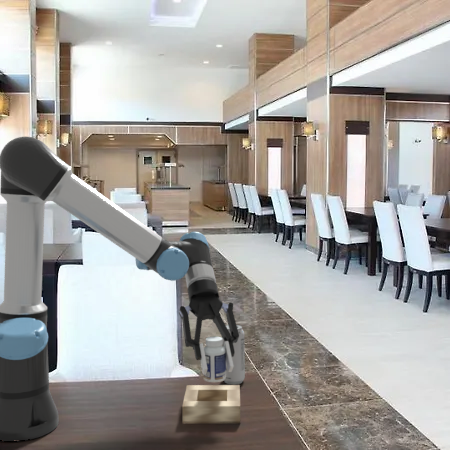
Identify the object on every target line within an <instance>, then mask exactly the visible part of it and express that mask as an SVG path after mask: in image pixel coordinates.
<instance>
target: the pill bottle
mask: <svg viewBox="0 0 450 450" xmlns="http://www.w3.org/2000/svg"><path fill="white" fill-rule="evenodd" d="M222 344H223V339H222V336H216V335H215V336H208V337H206V338H205V346H204V352H205V357H206V363H207V368H208V369H207V373H206V374H204V375H203V374H202V376H203V377H202V378H203V380H204V381H205V382H207V383H208V382H209V383H220V382H223V381H224V380H225V379H226V350H225V348H224V347H223V346H222Z"/></svg>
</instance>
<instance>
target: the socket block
mask: <svg viewBox="0 0 450 450" xmlns="http://www.w3.org/2000/svg"><path fill="white" fill-rule="evenodd" d="M240 386H241V385H240V384H234V385H233V384H213V385H212V384H204V385H203V384H200V385H199V384H197V385H196V384H194V385H193V384H191V385H190V384H189V385H188V384H186V387H185V392H184V396H183V402H182V424H183V425H186V424H189V425H190V424H191V425H193V424H196V425H198V424H199V425H200V424H207V425H209V424H212V425H213V424H220V425H221V424H241V387H240Z"/></svg>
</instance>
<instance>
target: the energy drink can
mask: <svg viewBox="0 0 450 450" xmlns="http://www.w3.org/2000/svg"><path fill="white" fill-rule="evenodd" d="M225 325H226V327H227V329H228V331H229V333H230V329H229V325H228V324H225ZM236 325H237V329H238V333H239V338H238V341H237V342H236V343H233V346H234V351H235V353H234V356H233V357H232V361H233V365H234V367H233V369H232V372H228V367H227V362H226V379H225V380H223V381H224V383H225V384H226V385H240V384H242V383H243V382H244V380H245V377H246V374H245V373H246V371H245V370H246V368H245V367H246V365H245V361H246V360H245V359H246V358H245V352H246V351H245V347H246V346H245V331H244V329H243V326H242V325H239V324H236ZM230 335H231V333H230ZM221 338H222V337H221ZM222 339H223V338H222ZM224 343H225V341H224V340H223V344H222V346H224Z"/></svg>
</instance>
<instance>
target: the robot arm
mask: <svg viewBox="0 0 450 450" xmlns="http://www.w3.org/2000/svg"><path fill="white" fill-rule="evenodd" d="M0 196H1V197H2V198H3V199H4V200H5V202H6V217H5V218H6V220H5V222H6V223H5V249H4V250H5V253H4V283H3V284H4V286H3V301H2V302H1V303H0V440H3V441H2V442H4V441H14V440H25V441H29V440H28V439H30V440H33V439H37V438H40V437H43V436H45V435H47V434H49V433H51V432H53V431H54V430H55V429H56V428H57V427H58V425H59V423H60V421H59V412H58V408H57V406H56V403H55V401H54V399H53V396H52V394H51V391H50V374H49V372H50V371H49V354H48V353H49V351H48V349H49V347H48V342H49V333H48V329H47V328H48V323H47V322H48V306H47V305H46V304H45V303H44V302H43V301H42V291H43V290H42V289H43V286H42V285H43V261H44V260H43V258H44V237H45V236H44V234H45V233H44V232H45V231H44V230H45V229H44V227H45V207H46V206H45V204H46V202H53V203H54V204H56V205H57V206H59V207H60V208H62V209H63V210H65V211H66V212H67V213H69V214H70V215H72V216H73V217H75V218H77V220H79V221H81V222H82V223H84V224H85V225H87V226H88V227H90V228H91V229H92V230H94V231H95V232H97V233H98V234H100V235H101V236H103V237H104V238H105V239H107V240H109V242H111V243H113V244H115V245H116V246H118V247H119V248H120V249H122V250H124V252H126V253H127V254H129V255H130V256H131V257H133V258H135V266H136V267H137V269H139V270H140V271H141V270H144V271H153V272H155V273H156V274H158V275H159V277H161V278H163V279H164V280H168V281H171V282H172V281H179V280H181V279H182V278H184V277H185V284H186V288H187V294H188V300H189V303H188V305H187V306H183V305H181V306H180V307H179V312H178V314H179V316H180V319H181V320H182V321H181V322H182V329H183V337H184V338H183V339H184V344H185V347H186V348H189V347H190V348H192V350H193V351H194V356H195V359H196V361H200V366H201V372H202V376H203V375H204V374H206V373H207V369H208V368H207V363H206V357H205V352H204V347H205V346H204V343H203V342H201V343H200V341H201V332H202V325H203V321H206V320H212V322H213V324H215V326H216V328H217V330H218V332H219V334H220V335H221V336H220V337H221V338H223V340H224V341H225V343H224V346H223V347H224V348H225V350H226V362H227V367H228V372H232V369H233V367H234V365H233V361H232V357H233V356H234V353H235V351H234V346H233V343H236V342H237V341H238V338H239V333H238V329H237V325H238V324H237V322H236V319H235V314H234V310H233V309H234V303H233V302H229V303H225V302H223V301H222V299H221V298H220V295H219V289H218V285H217V279H216V275H215V271H214V267H213V262H212V256H211V250H210V245H209V243H208V240H207V238H206V236H205V234H203V233H201V232H199V231H191V232H190V233H189V232H187V233H183V234H182V236H181V237H180V238H179V240H176V241H175V240H174V241H173V240H167V239H165V238H163V237H162V236H161V235H159V234H158V233H157V232H155V231H154V230H152V229H151V228H150V227H148V226H147V225H145V224H144V223H142V222H141V221H140V220H138V219H137V218H136V217H134V216H133V215H131V214H130V213H129V212H127V211H126V210H124V209H123V208H121V207H120V206H119V205H117V204H116V203H115V202H114V201H112V200H110V199H109V198H108V197H106V196H104V195H103V193H101V192H99V191H98V190H97V189H95V188H94V187H93V186H92V185H90V184H88V183H86V182H85V181H84V180H82V179H81V178H80V177H78V176H77V175H76V174H74V173H73V171H72V166H71V165H69V164H68V163H66V162H65V161H64V160H63V159H61V158H60V157H59V156H58V155H57V154H55V152H53V151H52V150H51V149H50V148H49V147H48V145H46V143H45V142H43V141H42V140H40V139H38V138H36V137H32V136H18V137H16V138H14V139H12V140H10V141H8V142H7V143H6V144H5V145H4V146H3V148H2V149H1V152H0ZM222 309H223V312H224V314H225V317H226V321H227V324H226V323H225V322H224V320H223V318H222V316H221V313H220V311H221V310H222ZM190 312H191V313H192V314H193V315H194V317H196V322H195V330H194V337H193V338H192V333H191V326H190V324H191V323H190V317H189V315H190ZM226 325H229V329H230V333H231V335H230V333H229V331H228V329H227V327H226Z"/></svg>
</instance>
